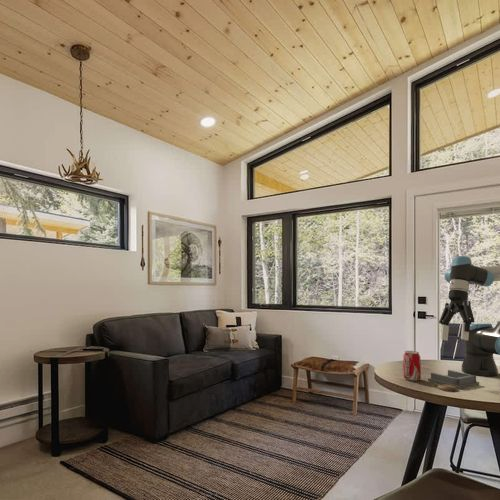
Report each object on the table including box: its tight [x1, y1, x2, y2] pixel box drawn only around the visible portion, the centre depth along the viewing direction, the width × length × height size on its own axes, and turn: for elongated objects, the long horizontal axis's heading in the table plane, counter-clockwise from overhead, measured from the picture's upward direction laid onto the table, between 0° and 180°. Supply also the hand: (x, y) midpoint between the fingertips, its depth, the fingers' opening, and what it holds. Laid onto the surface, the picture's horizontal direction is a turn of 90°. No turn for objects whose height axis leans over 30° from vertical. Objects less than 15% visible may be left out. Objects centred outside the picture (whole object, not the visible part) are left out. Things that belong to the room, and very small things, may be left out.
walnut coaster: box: [437, 384, 458, 393], centre depth 161 cm, size 7×7×1 cm
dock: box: [427, 369, 480, 390], centre depth 170 cm, size 14×14×4 cm
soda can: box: [402, 350, 422, 382], centre depth 176 cm, size 7×7×12 cm
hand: (454, 340), depth 168 cm, fingers open, 13 cm apart
